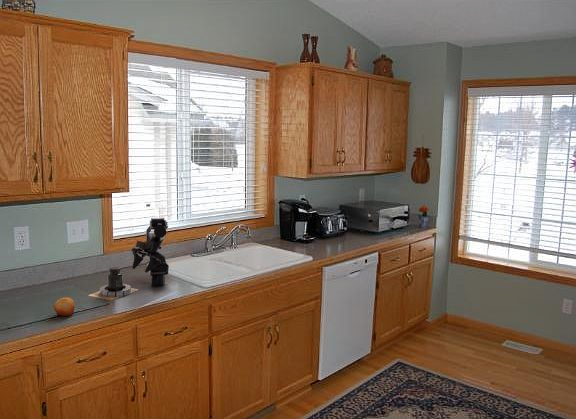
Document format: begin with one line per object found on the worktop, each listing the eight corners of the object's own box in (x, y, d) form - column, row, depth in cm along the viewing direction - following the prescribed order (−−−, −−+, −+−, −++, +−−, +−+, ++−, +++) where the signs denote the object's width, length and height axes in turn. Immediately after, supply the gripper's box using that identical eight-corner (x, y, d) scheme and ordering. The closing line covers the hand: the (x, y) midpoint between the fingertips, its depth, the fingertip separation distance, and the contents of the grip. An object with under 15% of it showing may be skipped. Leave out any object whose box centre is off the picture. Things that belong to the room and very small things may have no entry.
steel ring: (114, 286, 247) (114, 282, 247) (136, 291, 242) (136, 286, 241) (93, 294, 235) (93, 289, 235) (115, 299, 230) (115, 294, 229)
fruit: (79, 306, 217) (75, 294, 212) (74, 321, 211) (69, 309, 206) (60, 306, 217) (55, 293, 212) (54, 321, 211) (49, 308, 206)
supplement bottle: (123, 290, 243) (123, 265, 241) (123, 294, 236) (122, 269, 234) (108, 291, 241) (107, 266, 239) (107, 295, 234) (106, 270, 233)
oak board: (116, 286, 250) (116, 285, 250) (138, 291, 244) (138, 289, 244) (87, 296, 234) (87, 295, 234) (111, 302, 228) (111, 300, 228)
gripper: (132, 230, 245) (115, 259, 239) (158, 236, 234) (141, 265, 228) (147, 242, 253) (131, 270, 247) (172, 248, 242) (156, 277, 236)
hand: (139, 270), depth 239 cm, fingers open, 9 cm apart
